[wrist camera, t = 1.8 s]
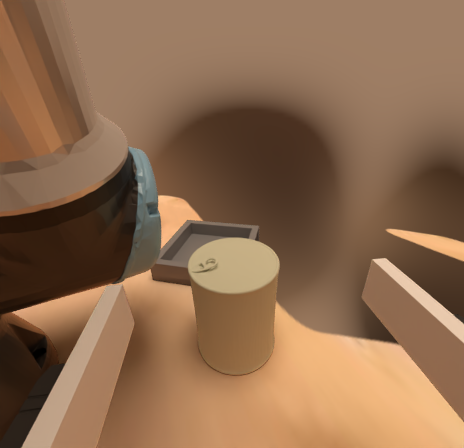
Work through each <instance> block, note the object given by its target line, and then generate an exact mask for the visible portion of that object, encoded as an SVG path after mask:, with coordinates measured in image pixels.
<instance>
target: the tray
mask: <svg viewBox="0 0 464 448" xmlns="http://www.w3.org/2000/svg"><path fill="white" fill-rule="evenodd" d="M224 238H246V239H252V240H255V241H258V242H259V226H252V225H241V224H229V223H217V222H205V221H193V220H187V221H186V222H185V223H184V224H183V226H182V227H181V228H180V229H179V230H178V231H177V232H176V233H175V234H174V236H173V237H172V238H171V239H170V240H169V241H168V242H167V243H166V244H165V246H164V247H163V248H162V249H161V250H160V254H159V257H158V260H157V262H156V263H155V265H154V266H153V267H152V268H151V273H152V277H153V280H156V281H163V282H170V283H176V284H183V285H190V286H191V281H190V276H189V273H188V262H189V259H190V257H191V256H192V254H193V253H194V252H195V251H196V250H197V249H198V248H200V247H201V246H203V245H205V244H207V243H209V242H212V241H215V240H219V239H224Z"/></svg>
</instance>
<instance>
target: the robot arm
mask: <svg viewBox="0 0 464 448" xmlns="http://www.w3.org/2000/svg"><path fill="white" fill-rule="evenodd" d="M160 248H161V219H160V213H159V211H158V193H157V188H156V182H155V178H154V175H153V170H152V167H151V165H150V162H149V160H148V158H147V155H146V154H145V153H144V152H143V151H142V150H140V149H134V148H130V147H128V143H127V139H126V137H125V135H124V133H123V132H122V130H121V129H120V128H119V127H118V126H117V125H116V124H114V123H113V122H111V121H110V120H108V119H107V118H105V117H104V116H102V115H101V114H99V113H97V112H96V111H95V107H94V104H93V100H92V97H91V93H90V90H89V86H88V82H87V79H86V76H85V72H84V68H83V65H82V61H81V58H80V55H79V50H78V47H77V44H76V40H75V36H74V33H73V29H72V26H71V22H70V19H69V15H68V11H67V8H66V4H65V1H64V0H0V448H97V444H98V441H99V438H100V435H101V432H102V428H103V425H104V422H105V419H106V415H107V412H108V409H109V406H110V402H111V399H112V396H113V393H114V389H115V386H116V383H117V380H118V376H119V373H120V370H121V367H122V363H123V360H124V357H125V354H126V350H127V347H128V344H129V341H130V337H131V334H132V331H133V328H134V324H135V322H134V319H133V316H132V313H131V310H130V306H129V303H128V300H127V297H126V294H125V291H124V287H123V284H122V285H112V286H106V288H105V290H104V292H103V294H102V296H101V298H100V299H99V301H98V303H97V305H96V307H95V309H94V311H93V313H92V315H91V317H90V318H89V320H88V322H87V324H86V326H85V328H84V330H83V332H82V334H81V336H80V337H79V339H78V341H77V343H76V345H75V347H74V349H73V351H72V353H71V354H70V356H69V358H68V360H67V362H66V363H65V364H58V355H57V352H56V349H55V347H54V346H53V344H52V342H51V341H50V339H49V337H48V336H47V335H46V334H45V333H44V332H43V331H42V330H41V329H39V328H37V327H36V326H34V325H32V324H30V323H29V322H27V321H25V320H24V319H22V318H20V317H19V316H17V315H15V314H13V313H12V312H13V311H17V310H20V309H24V308H27V307H31V306H34V305H37V304H41V303H44V302H48V301H51V300H55V299H58V298H62V297H65V296H69V295H72V294H76V293H79V292H83V291H87V290H90V289H94V288H98V287H101V286H105V285H108V284H117V283H120V282H122V281H124V280H125V279H126V278H129V277H132V276H135V275H138V274H141V273H144V272H146V271H148V270H149V269H151V268H152V267H153V266H154V265H155V263H156V262H157V260H158V257H159V254H160ZM362 299H363V300H364V301H365V303H366V304H367V305H368V306H369V307H370V309H371V310H372V311H373V312H374V313H375V315H376V316H377V317H378V318H379V320H380V321H381V322H382V323H383V324H384V326H385V327H386V328H387V329H388V331H389V332H390V333H391V334H392V335H393V336H394V338H395V339H396V340H397V341H398V343H399V344H400V345H401V346H402V348H403V349H404V350H405V351H406V352H407V354H408V355H409V356H410V357H411V358H412V360H413V361H414V362H415V363H416V365H417V366H418V367H419V368H420V369H421V371H422V372H423V373H424V374H425V375H426V377H427V378H428V379H429V380H430V382H431V383H432V384H433V385H434V386H435V388H436V389H437V390H438V391H439V392H440V394H441V395H442V396H443V397H444V399H445V400H446V401H447V402H448V403H449V405H450V406H451V407H452V408H453V409H454V411H455V412H456V413H457V414H458V416H459V417H460V418H461V419H462V420H463V422H464V318H463V317H462V316H460V315H458V314H455V315H453V314H451V313H450V312H449V311H448V310H447V309H445V308H444V307H443V306H442V305H441V304H439V303H438V302H437V301H436V300H435V299H433V298H432V297H431V296H430V295H429V294H427V293H426V292H425V291H424V290H423V289H422V288H420V287H419V286H418V285H417V284H416V283H414V282H413V281H412V280H411V279H410V278H408V277H407V276H406V275H405V274H403V273H402V272H401V271H400V270H399V269H398V268H396V267H395V266H394V265H393V264H392V263H390V262H389V261H388V260H387V259H386V258H383V259H373V260H372V262H371V266H370V269H369V273H368V276H367V280H366V284H365V287H364V291H363V294H362Z"/></svg>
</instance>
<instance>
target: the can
mask: <svg viewBox="0 0 464 448" xmlns="http://www.w3.org/2000/svg"><path fill="white" fill-rule="evenodd" d="M279 268H280V265H279V259H278V257H277V255H276V253H275V252H274V251H273V250H272V249H271V248H269V247H268V246H266V245H265V244H263V243H260V242H258V241H255V240H252V239H246V238H224V239H219V240H215V241H212V242H209V243H207V244H205V245H203V246H201V247H200V248H198V249H197V250H196V251H195V252H194V253H193V254H192V256H191V257H190V259H189V262H188V273H189V276H190V281H191V288H192V294H193V300H194V307H195V314H196V321H197V328H198V346H199V350H200V353H201V355H202V357H203V359H204V360H205V361H206V363H207V364H208V365H209V366H211V367H212V368H213V369H215V370H217V371H219V372H221V373H224V374H228V375H244V374H248V373H251V372H253V371H255V370H257V369H259V368H260V367H261V366H263V365H264V364H265V363H266V361H267V360H268V359H269V357H270V356H271V354H272V351H273V348H274V317H275V304H276V291H277V279H278V272H279Z"/></svg>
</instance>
